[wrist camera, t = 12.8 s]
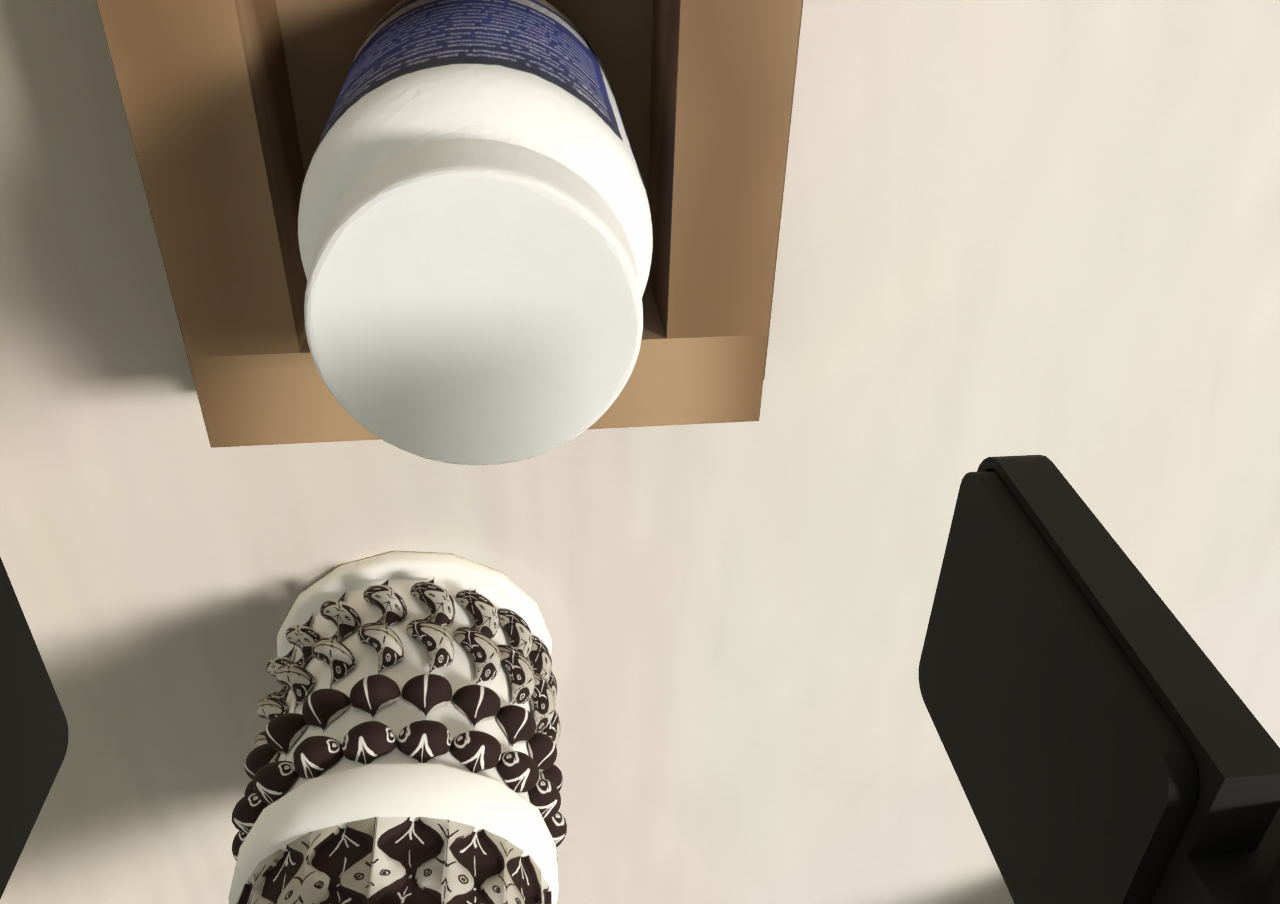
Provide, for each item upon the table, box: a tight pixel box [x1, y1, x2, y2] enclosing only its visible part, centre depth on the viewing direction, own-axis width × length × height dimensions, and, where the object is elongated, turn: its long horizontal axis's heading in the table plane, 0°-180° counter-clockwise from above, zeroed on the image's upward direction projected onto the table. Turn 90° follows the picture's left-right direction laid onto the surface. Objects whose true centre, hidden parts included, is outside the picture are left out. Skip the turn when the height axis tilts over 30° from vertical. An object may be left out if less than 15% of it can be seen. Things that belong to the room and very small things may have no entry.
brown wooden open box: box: [97, 0, 803, 447], centre depth 21 cm, size 14×14×4 cm
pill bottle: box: [298, 0, 653, 465], centre depth 18 cm, size 6×6×10 cm
